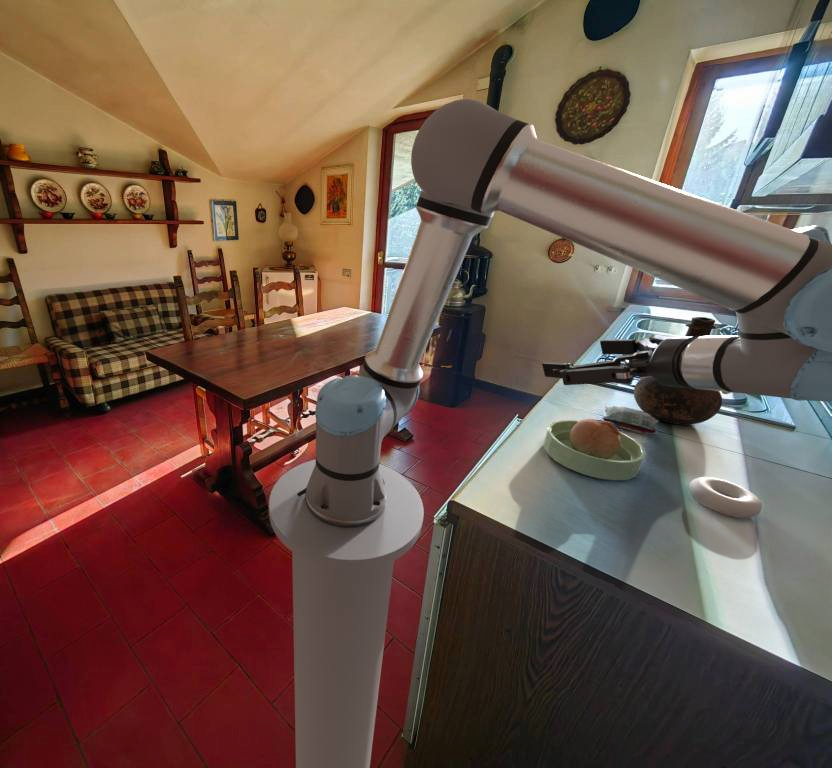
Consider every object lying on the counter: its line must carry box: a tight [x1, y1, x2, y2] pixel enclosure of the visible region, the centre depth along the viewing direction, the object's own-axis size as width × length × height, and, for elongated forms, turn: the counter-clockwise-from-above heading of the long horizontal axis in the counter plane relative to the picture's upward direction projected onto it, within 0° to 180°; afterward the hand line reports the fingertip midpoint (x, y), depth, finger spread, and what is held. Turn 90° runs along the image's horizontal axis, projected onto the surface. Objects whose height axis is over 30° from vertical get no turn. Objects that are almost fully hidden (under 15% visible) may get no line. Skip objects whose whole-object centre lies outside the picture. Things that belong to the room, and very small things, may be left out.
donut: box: [688, 476, 762, 519], centre depth 74 cm, size 10×4×10 cm
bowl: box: [543, 419, 646, 481], centre depth 88 cm, size 18×18×5 cm
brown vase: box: [633, 316, 723, 426], centre depth 103 cm, size 18×18×28 cm
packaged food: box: [602, 405, 659, 435], centre depth 102 cm, size 9×12×5 cm
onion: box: [569, 418, 621, 460], centre depth 87 cm, size 10×9×10 cm
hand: (574, 357), depth 76 cm, fingers open, 13 cm apart
